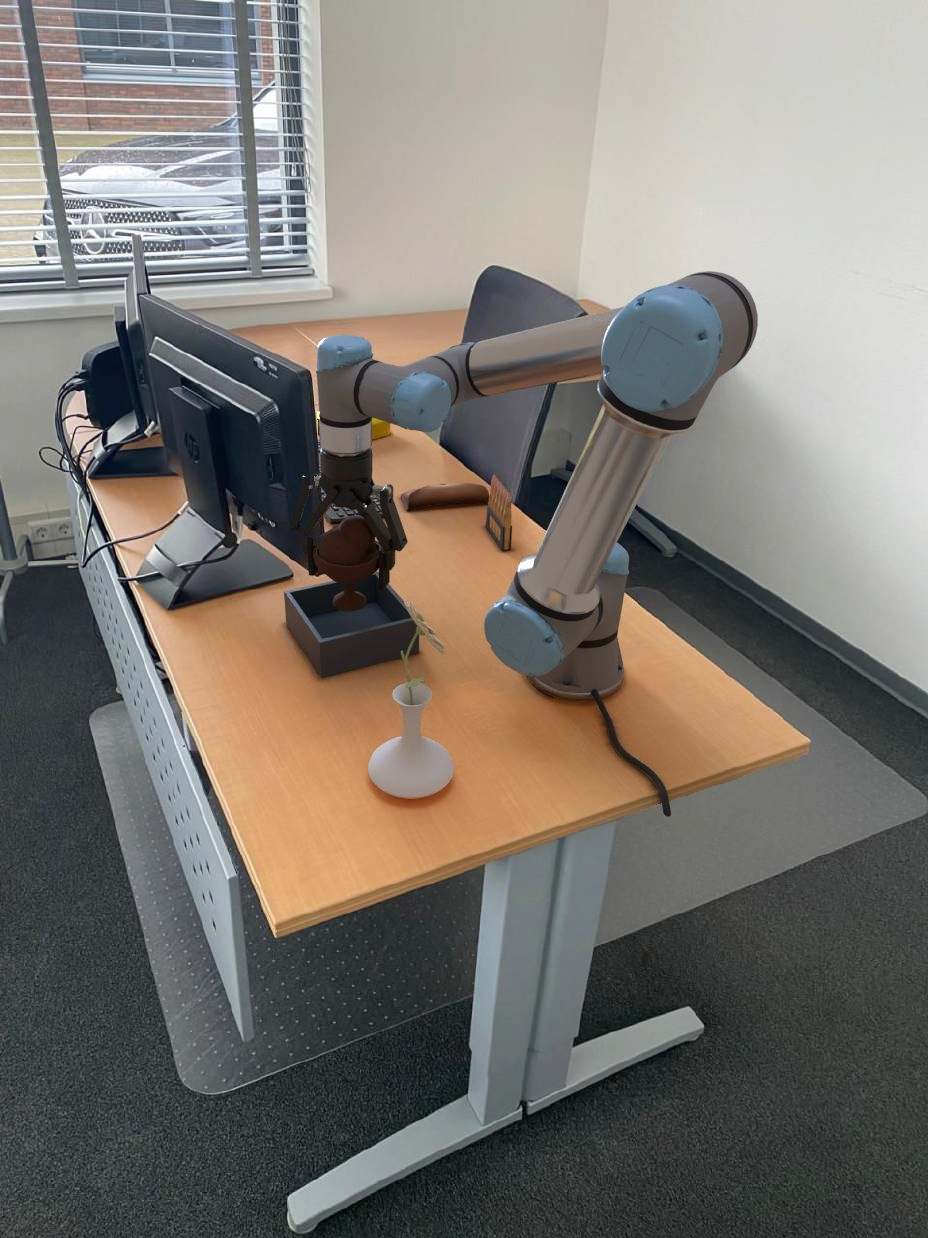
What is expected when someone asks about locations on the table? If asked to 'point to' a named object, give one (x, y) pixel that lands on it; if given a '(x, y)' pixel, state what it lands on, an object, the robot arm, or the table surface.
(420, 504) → the sunglasses case
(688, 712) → the table surface
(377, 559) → the ice cream bowl
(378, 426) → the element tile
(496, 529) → the ammunition clip
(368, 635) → the open square box
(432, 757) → the flower in vase
